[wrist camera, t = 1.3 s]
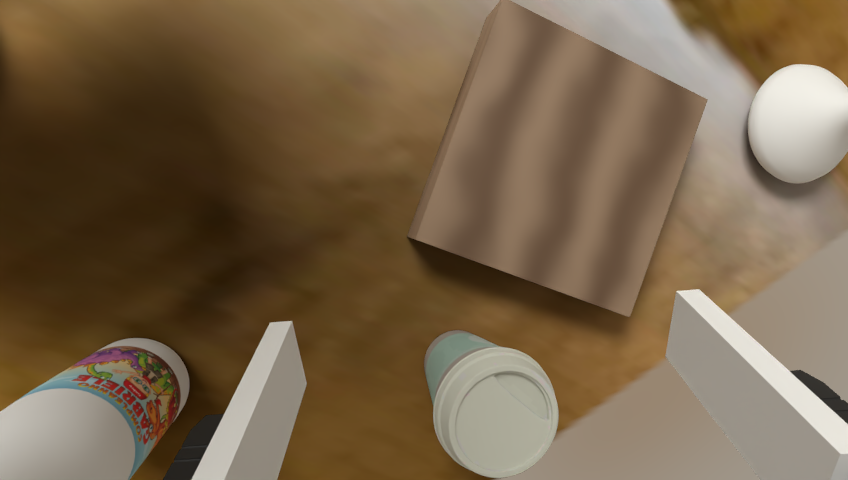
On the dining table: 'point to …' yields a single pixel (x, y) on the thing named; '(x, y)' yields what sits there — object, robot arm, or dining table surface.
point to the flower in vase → (799, 123)
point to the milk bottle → (95, 415)
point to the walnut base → (557, 161)
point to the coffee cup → (489, 404)
